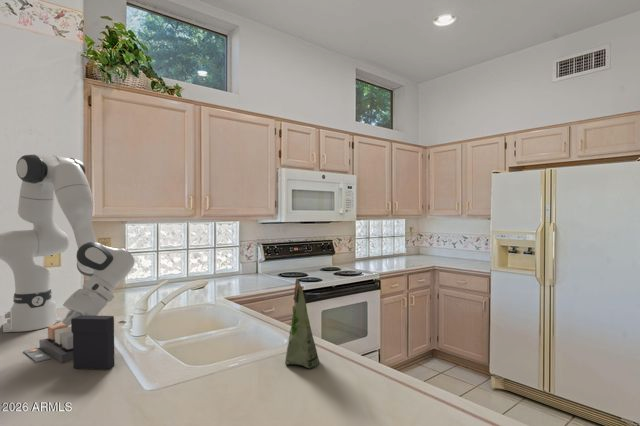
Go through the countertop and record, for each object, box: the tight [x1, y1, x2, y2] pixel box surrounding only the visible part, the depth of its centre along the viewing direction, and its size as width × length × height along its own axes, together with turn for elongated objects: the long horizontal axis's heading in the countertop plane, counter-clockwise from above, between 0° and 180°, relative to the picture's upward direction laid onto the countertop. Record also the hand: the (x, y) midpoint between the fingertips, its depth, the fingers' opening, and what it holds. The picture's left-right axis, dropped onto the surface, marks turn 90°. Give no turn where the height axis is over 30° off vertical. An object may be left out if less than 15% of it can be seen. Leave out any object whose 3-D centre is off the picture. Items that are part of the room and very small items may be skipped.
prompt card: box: [22, 347, 51, 363], centre depth 117 cm, size 14×4×1 cm, turn 52°
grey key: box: [62, 332, 73, 349], centre depth 117 cm, size 5×5×4 cm
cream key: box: [55, 326, 72, 344], centre depth 121 cm, size 5×5×4 cm
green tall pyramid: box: [285, 277, 320, 369], centre depth 110 cm, size 11×12×25 cm
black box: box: [70, 315, 115, 371], centre depth 108 cm, size 11×4×15 cm, turn 84°
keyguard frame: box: [39, 337, 73, 364], centre depth 121 cm, size 22×9×2 cm, turn 52°
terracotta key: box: [47, 322, 69, 340], centre depth 125 cm, size 5×5×4 cm
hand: (65, 324), depth 121 cm, fingers closed
